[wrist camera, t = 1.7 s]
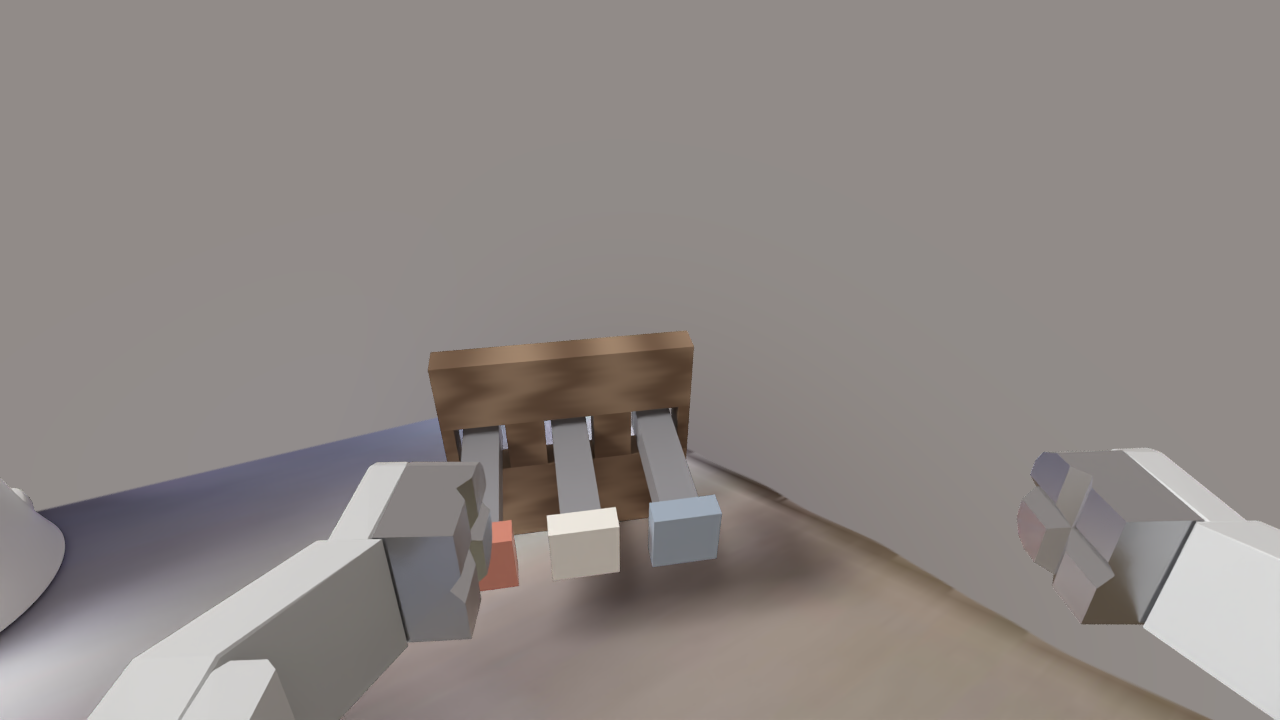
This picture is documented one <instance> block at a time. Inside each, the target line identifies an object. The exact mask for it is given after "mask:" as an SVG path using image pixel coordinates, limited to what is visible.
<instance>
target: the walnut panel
mask: <svg viewBox="0 0 1280 720" xmlns="http://www.w3.org/2000/svg"><path fill="white" fill-rule="evenodd" d="M693 351H694V346H693V343H692V341H691V339H690V337H689V334H688V332H687V331H676V332H664V333H653V334H641V335H630V336H617V337H606V338H594V339H582V340H571V341H559V342H547V343H536V344H524V345H513V346H501V347H489V348H477V349H465V350H454V351H442V352H432V353H430V360H429V367H428V373H429V378H430V383H431V387H432V392H433V396H434V401H435V406H436V411H437V415H438V420H439V425H440V430H441V434H442V439H443V444H444V448H445V453H446V458H447V462H461V455H462V446H461V440H460V435H459V429H469V428H478V427H488V426H498V425H505V428H506V435H507V443H508V449H505V450H503V521H508V520H512V527H513V534H514V535H516V534H524V533H532V532H540V531H547V530H548V525H547V516H548V515H556V514H560V508H559V498H558V488H557V478H556V468H555V458H554V448H553V444H551V445H546V437H545V427H544V421H546V420H556V419H566V418H575V417H585V416H591V429H592V440H589V442H590V448H591V454H592V460H593V466H594V472H595V478H596V484H597V489H598V495H599V501H600V507H601V509H604V508H612V507H616V512H617V517H618V521H625V520H633V519H641V518H649V503H652V500H651V496H650V492H649V489H648V485H647V481H646V477H645V473H644V469H643V465H642V461H641V457H640V453H639V449H638V446H637V442H636V438H635V435H634V436H631V412H634V411H643V410H653V409H663V408H672V410H671V417H672V420H673V423H674V426H675V429H676V432H677V435H678V438H679V441H680V444H681V447H682V450H683V453H684V456H685V459H686V451H687V436H688V423H689V408H690V394H691V380H692V364H693Z"/></svg>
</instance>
